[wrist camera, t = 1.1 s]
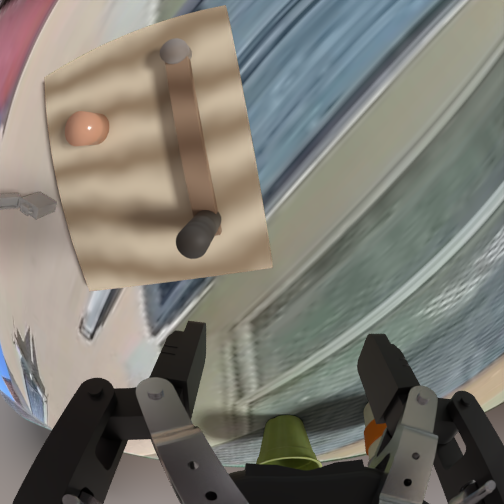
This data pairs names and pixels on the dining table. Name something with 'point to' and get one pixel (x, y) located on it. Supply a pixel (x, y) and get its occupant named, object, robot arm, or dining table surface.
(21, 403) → the dining table surface
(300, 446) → the plant pot
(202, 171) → the lever
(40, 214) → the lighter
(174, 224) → the board
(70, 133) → the peach rounded cube
